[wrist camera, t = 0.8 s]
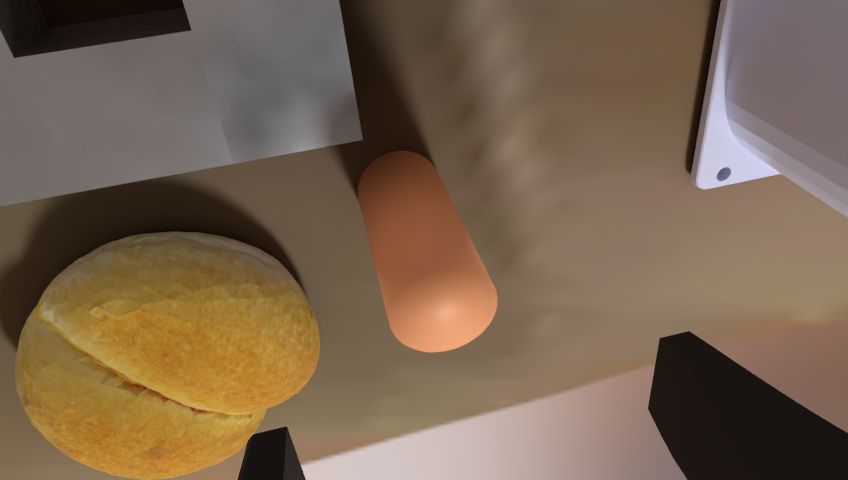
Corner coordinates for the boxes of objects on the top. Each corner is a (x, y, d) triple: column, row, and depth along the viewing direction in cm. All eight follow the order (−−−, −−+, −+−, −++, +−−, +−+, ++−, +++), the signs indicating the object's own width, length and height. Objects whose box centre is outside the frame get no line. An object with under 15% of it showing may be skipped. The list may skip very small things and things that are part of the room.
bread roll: (360, 297, 21) (376, 380, 18) (206, 444, 24) (196, 541, 20) (142, 161, 17) (112, 237, 14) (-18, 357, 19) (-76, 462, 16)
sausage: (435, 143, 18) (495, 254, 14) (442, 215, 20) (498, 339, 15) (351, 159, 18) (381, 278, 13) (364, 231, 20) (395, 362, 15)
